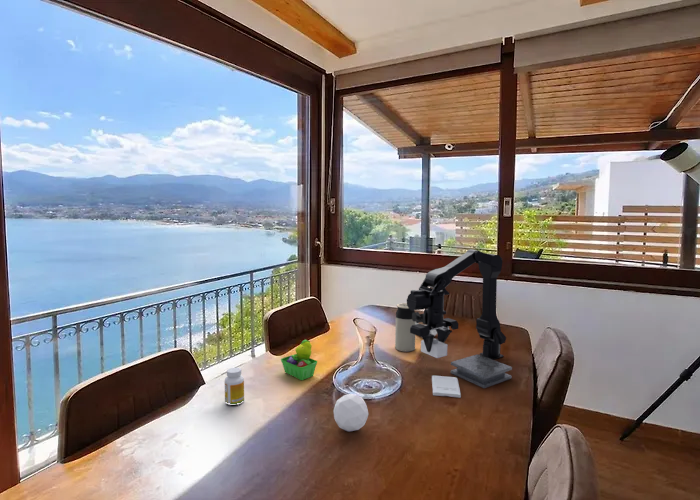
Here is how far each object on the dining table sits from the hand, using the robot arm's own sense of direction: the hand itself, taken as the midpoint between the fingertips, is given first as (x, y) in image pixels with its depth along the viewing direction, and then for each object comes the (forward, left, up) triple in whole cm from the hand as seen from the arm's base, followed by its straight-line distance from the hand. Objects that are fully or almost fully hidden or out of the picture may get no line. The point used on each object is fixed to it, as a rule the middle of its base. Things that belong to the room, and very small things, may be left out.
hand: (434, 350), depth 143 cm
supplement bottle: (+68, -12, -6) cm, 69 cm away
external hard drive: (+9, +14, -7) cm, 18 cm away
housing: (0, 0, -1) cm, 1 cm away
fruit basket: (+43, -20, -6) cm, 48 cm away
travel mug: (-4, -20, -6) cm, 21 cm away
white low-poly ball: (+46, +17, -6) cm, 49 cm away
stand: (-8, +14, -6) cm, 17 cm away
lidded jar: (-23, -27, -6) cm, 36 cm away
